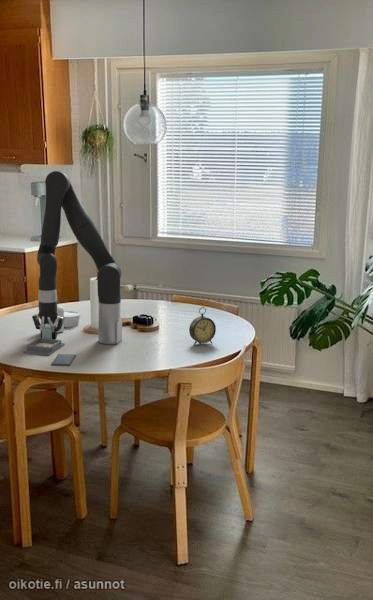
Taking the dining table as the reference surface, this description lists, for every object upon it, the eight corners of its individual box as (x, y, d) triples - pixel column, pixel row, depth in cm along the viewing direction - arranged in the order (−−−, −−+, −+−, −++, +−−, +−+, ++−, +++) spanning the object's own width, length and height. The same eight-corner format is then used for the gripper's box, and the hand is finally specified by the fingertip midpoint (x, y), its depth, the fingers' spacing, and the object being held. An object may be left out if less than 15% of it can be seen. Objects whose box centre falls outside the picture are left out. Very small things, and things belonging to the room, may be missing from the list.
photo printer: (61, 329, 264) (61, 303, 261) (65, 332, 260) (65, 305, 257) (39, 332, 258) (38, 305, 255) (43, 335, 254) (42, 307, 252)
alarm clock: (193, 347, 245) (194, 309, 241) (187, 343, 250) (188, 306, 246) (215, 344, 250) (217, 307, 246) (209, 340, 254) (211, 304, 251)
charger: (55, 340, 249) (55, 325, 247) (51, 343, 244) (50, 328, 243) (46, 339, 249) (46, 325, 248) (42, 342, 245) (41, 327, 244)
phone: (76, 356, 230) (76, 354, 230) (69, 367, 219) (69, 364, 218) (58, 356, 230) (58, 353, 230) (51, 366, 219) (51, 363, 218)
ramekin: (83, 322, 277) (83, 311, 276) (76, 328, 266) (76, 317, 265) (59, 320, 278) (59, 310, 277) (52, 327, 267) (52, 316, 266)
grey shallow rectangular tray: (64, 345, 242) (64, 339, 241) (49, 355, 229) (49, 349, 228) (40, 342, 244) (39, 336, 244) (23, 352, 231) (23, 346, 231)
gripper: (67, 299, 245) (68, 338, 249) (36, 296, 248) (37, 335, 252) (59, 303, 238) (60, 343, 242) (27, 300, 241) (28, 340, 245)
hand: (48, 339), depth 247 cm, fingers closed on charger, 4 cm apart
